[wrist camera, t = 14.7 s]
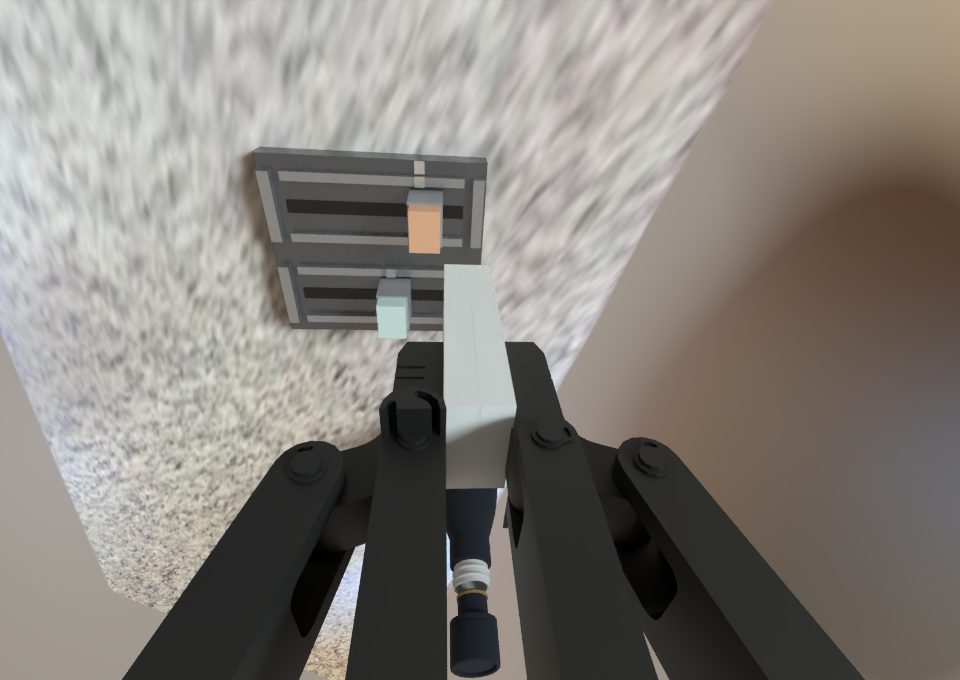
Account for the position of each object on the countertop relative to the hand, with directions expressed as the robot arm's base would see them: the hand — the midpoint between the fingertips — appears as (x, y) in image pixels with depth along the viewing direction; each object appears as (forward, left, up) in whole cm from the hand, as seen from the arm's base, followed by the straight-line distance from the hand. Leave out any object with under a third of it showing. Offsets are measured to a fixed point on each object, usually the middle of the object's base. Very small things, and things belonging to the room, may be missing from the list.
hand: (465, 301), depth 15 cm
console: (+11, -7, -29) cm, 32 cm away
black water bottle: (+32, +2, -30) cm, 44 cm away
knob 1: (+15, -5, -27) cm, 32 cm away
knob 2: (+6, -2, -27) cm, 28 cm away
